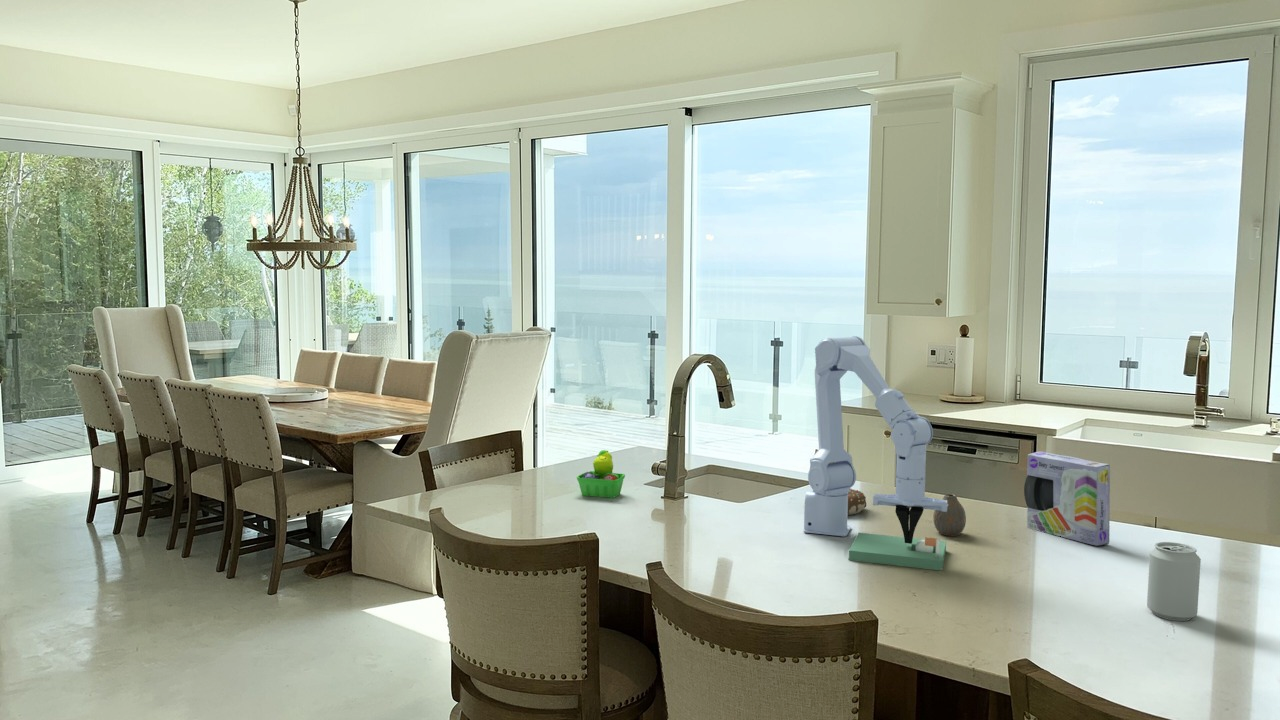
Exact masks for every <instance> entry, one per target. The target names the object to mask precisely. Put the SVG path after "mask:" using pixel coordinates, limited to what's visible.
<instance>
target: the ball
mask: <svg viewBox="0 0 1280 720" xmlns="http://www.w3.org/2000/svg"><path fill="white" fill-rule="evenodd" d="M916 551H919V552H928V553H933V546H925V540H920V541H918V542H917V544H916Z"/></svg>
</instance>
